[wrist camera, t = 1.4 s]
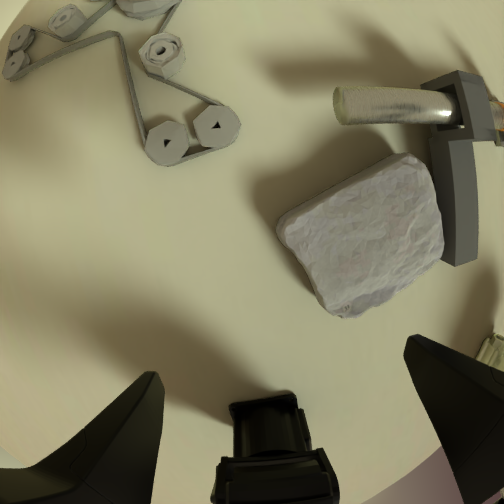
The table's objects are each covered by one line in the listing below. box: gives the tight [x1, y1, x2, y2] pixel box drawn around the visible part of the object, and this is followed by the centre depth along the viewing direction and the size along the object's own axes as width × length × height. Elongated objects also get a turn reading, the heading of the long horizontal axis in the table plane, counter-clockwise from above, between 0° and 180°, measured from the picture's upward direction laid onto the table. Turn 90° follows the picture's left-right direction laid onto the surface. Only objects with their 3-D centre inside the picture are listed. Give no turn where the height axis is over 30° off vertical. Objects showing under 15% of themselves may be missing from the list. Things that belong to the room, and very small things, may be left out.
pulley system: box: [2, 0, 241, 167], centre depth 14 cm, size 27×5×15 cm
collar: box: [420, 70, 497, 267], centre depth 15 cm, size 3×14×5 cm, turn 11°
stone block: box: [275, 152, 444, 319], centre depth 19 cm, size 12×5×10 cm
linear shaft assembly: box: [333, 86, 504, 147], centre depth 14 cm, size 23×5×7 cm, turn 101°
